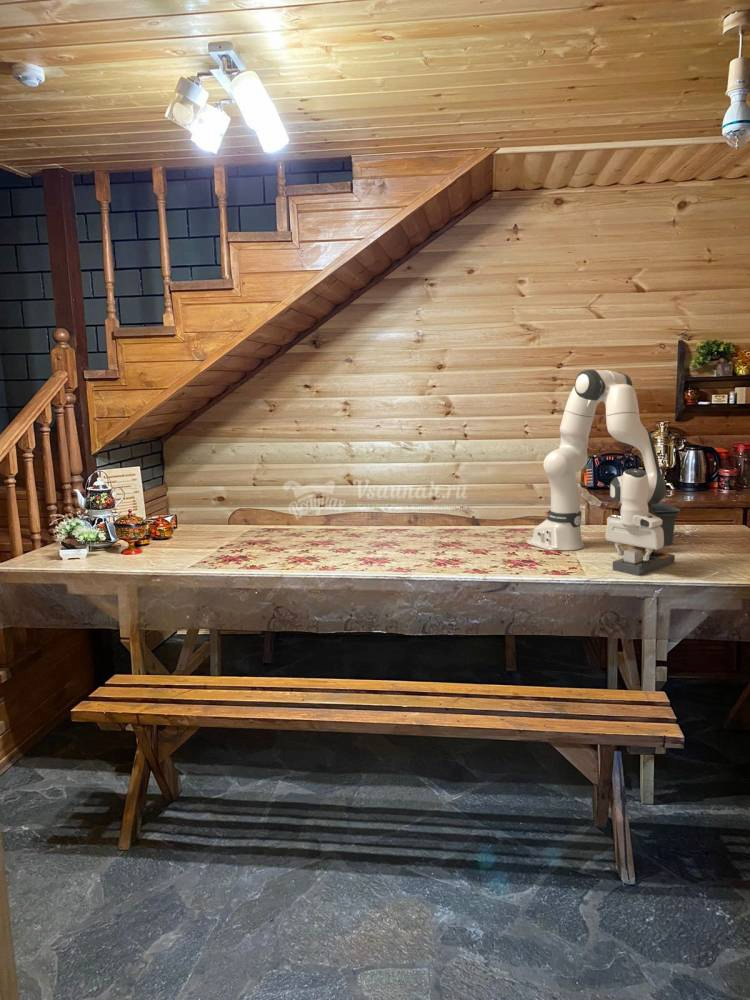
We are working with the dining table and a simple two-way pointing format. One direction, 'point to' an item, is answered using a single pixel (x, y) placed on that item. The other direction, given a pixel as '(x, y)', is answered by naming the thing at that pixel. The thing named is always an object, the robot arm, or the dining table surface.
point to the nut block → (632, 556)
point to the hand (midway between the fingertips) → (633, 557)
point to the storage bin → (666, 520)
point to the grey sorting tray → (645, 563)
